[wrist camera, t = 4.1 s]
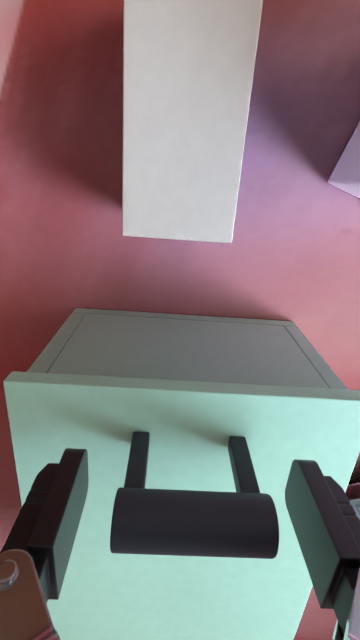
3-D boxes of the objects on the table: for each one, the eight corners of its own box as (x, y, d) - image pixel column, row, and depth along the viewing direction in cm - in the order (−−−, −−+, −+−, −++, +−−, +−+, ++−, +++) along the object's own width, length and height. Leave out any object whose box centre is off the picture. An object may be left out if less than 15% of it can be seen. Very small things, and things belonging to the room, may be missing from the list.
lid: (11, 370, 14) (-82, 478, 9) (367, 390, 14) (469, 502, 9) (49, 650, 22) (12, 790, 17) (278, 655, 22) (308, 793, 17)
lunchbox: (75, 307, 23) (14, 386, 14) (292, 320, 23) (362, 404, 15) (85, 515, 30) (49, 649, 22) (249, 521, 31) (278, 654, 22)
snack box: (238, 14, 17) (272, -75, 11) (215, 224, 21) (232, 243, 15) (142, 5, 17) (123, -91, 11) (137, 219, 21) (121, 236, 15)
